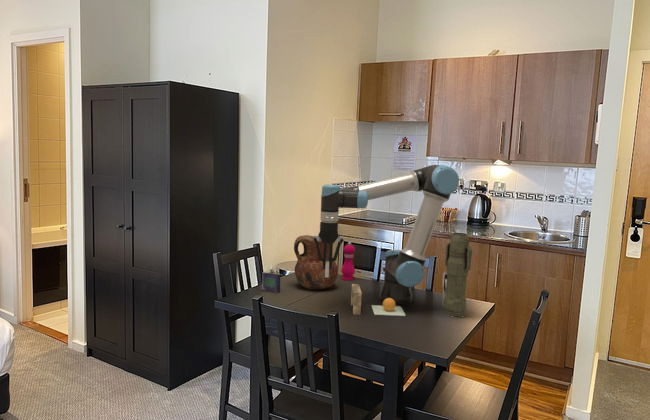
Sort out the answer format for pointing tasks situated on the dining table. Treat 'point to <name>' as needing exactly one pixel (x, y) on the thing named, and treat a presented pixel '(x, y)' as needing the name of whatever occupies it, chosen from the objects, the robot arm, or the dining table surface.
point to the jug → (313, 265)
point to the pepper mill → (348, 263)
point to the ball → (389, 304)
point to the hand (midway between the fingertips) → (326, 276)
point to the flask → (271, 281)
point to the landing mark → (381, 311)
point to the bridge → (356, 299)
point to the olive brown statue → (457, 274)
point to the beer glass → (444, 286)
